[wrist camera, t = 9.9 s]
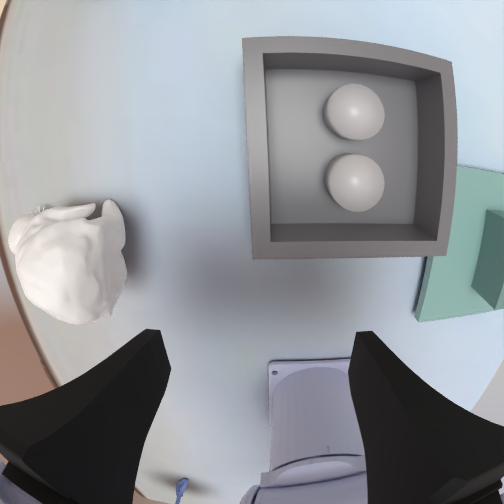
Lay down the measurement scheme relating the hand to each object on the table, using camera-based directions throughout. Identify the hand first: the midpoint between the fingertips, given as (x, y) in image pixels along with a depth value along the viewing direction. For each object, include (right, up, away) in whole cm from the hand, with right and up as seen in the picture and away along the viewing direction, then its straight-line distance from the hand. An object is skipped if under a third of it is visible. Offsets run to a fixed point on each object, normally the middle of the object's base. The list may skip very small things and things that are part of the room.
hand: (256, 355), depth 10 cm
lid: (+18, +4, +7) cm, 19 cm away
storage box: (+5, +10, +6) cm, 13 cm away
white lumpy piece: (-13, +5, +10) cm, 17 cm away
